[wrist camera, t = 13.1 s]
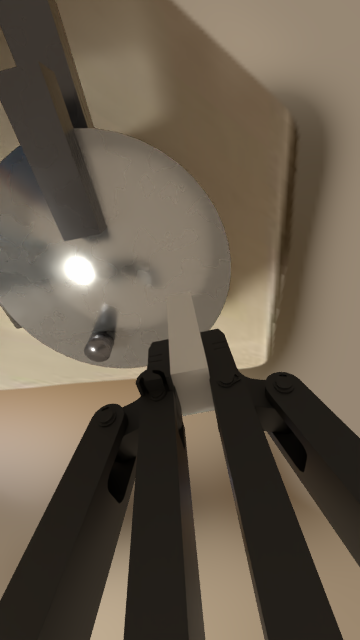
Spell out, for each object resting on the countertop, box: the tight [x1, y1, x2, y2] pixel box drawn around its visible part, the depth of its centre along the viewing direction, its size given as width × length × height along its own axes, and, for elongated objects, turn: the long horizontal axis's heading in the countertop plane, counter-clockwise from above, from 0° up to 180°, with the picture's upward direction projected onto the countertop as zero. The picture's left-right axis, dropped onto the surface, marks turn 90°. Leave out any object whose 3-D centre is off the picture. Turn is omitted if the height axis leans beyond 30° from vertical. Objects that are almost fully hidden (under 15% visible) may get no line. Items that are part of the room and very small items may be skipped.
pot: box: [0, 0, 94, 128], centre depth 21 cm, size 18×24×9 cm
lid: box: [0, 61, 231, 368], centre depth 16 cm, size 17×19×3 cm
